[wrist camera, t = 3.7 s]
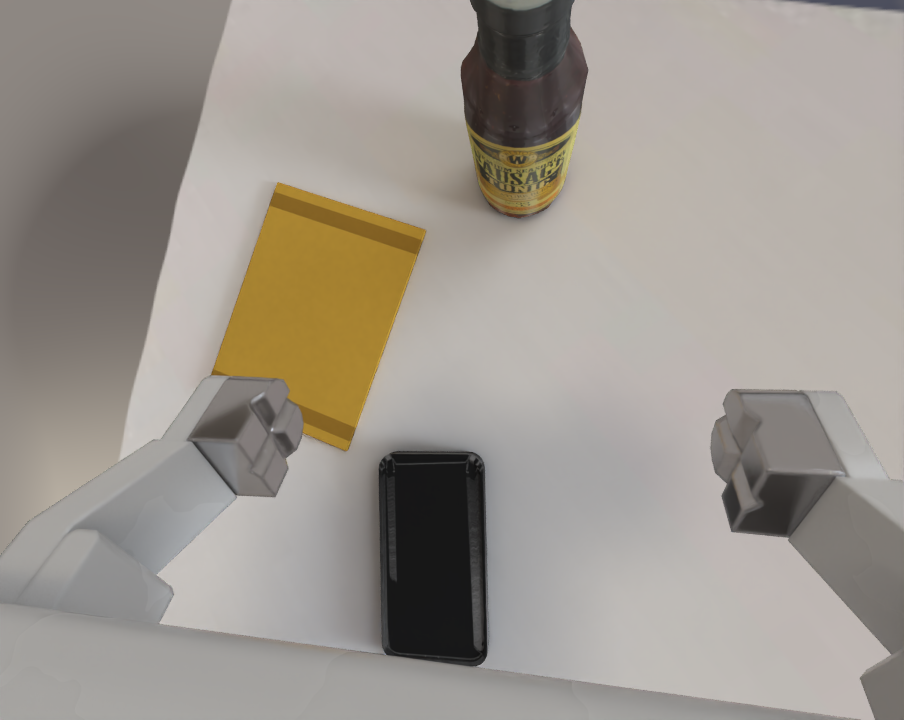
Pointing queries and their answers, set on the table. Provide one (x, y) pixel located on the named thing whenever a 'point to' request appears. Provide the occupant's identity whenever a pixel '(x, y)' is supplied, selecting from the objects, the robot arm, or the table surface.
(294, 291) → the tray
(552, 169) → the sauce bottle
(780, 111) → the table surface
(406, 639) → the phone
